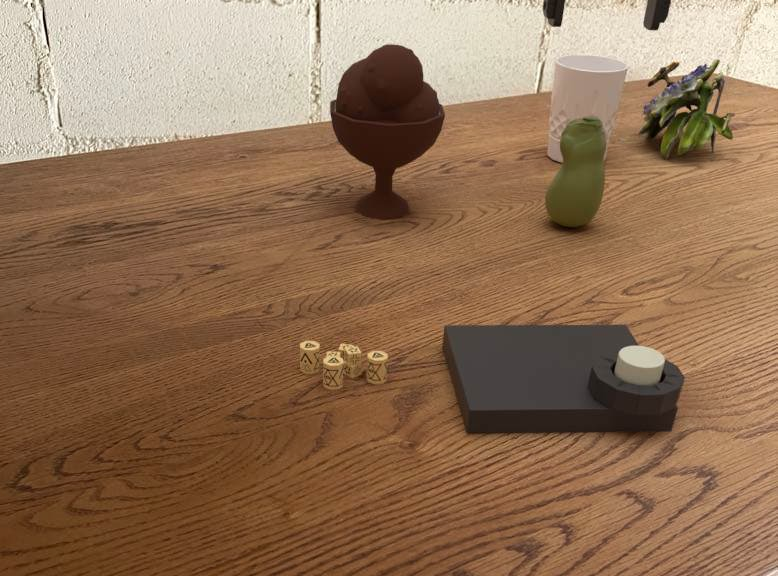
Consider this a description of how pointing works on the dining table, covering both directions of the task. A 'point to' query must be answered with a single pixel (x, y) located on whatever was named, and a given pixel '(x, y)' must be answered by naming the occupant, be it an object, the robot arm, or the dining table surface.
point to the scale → (553, 380)
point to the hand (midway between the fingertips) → (602, 27)
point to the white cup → (584, 94)
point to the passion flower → (680, 96)
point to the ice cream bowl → (386, 121)
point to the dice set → (342, 364)
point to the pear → (578, 174)
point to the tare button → (639, 365)
